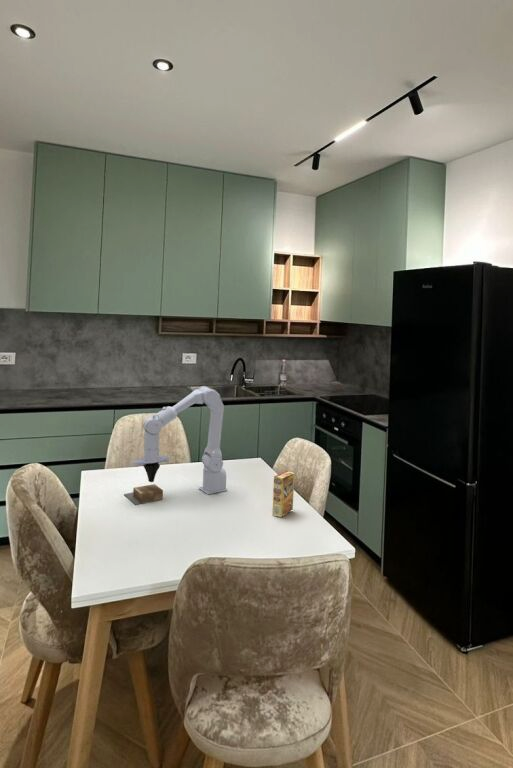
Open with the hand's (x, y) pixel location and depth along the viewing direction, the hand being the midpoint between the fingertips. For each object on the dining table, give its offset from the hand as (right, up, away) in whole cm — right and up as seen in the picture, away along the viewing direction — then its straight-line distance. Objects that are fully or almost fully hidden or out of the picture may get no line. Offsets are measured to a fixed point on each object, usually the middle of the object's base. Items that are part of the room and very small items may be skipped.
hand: (151, 481), depth 189 cm
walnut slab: (+2, -5, +3) cm, 6 cm away
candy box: (+52, -11, -8) cm, 53 cm away
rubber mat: (-4, -7, +1) cm, 8 cm away
